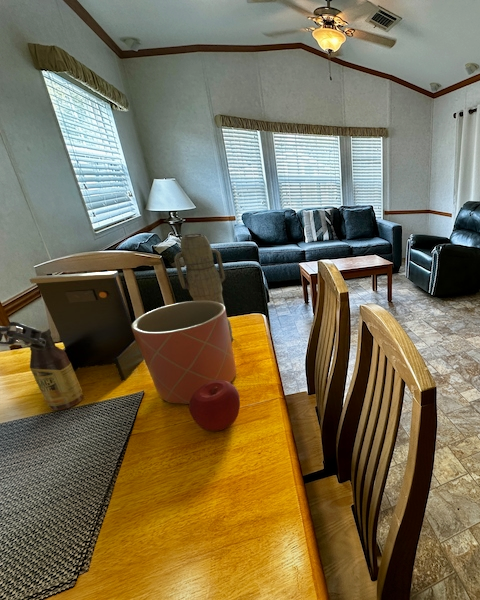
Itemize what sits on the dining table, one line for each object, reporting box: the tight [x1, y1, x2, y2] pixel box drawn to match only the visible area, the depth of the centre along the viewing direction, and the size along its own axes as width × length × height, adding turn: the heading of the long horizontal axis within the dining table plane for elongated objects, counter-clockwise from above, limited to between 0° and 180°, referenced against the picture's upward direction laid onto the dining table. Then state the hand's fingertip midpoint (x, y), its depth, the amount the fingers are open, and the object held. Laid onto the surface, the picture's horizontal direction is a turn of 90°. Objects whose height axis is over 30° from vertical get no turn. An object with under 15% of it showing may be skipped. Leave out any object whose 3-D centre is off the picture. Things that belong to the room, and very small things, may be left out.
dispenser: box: [28, 270, 145, 382], centre depth 86 cm, size 12×18×27 cm, turn 104°
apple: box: [188, 380, 241, 432], centre depth 71 cm, size 10×10×10 cm
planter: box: [132, 300, 237, 405], centre depth 82 cm, size 19×19×20 cm
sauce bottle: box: [29, 326, 84, 411], centre depth 75 cm, size 7×6×20 cm
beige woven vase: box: [173, 233, 234, 343], centre depth 100 cm, size 9×12×35 cm
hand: (17, 348), depth 67 cm, fingers open, 8 cm apart
